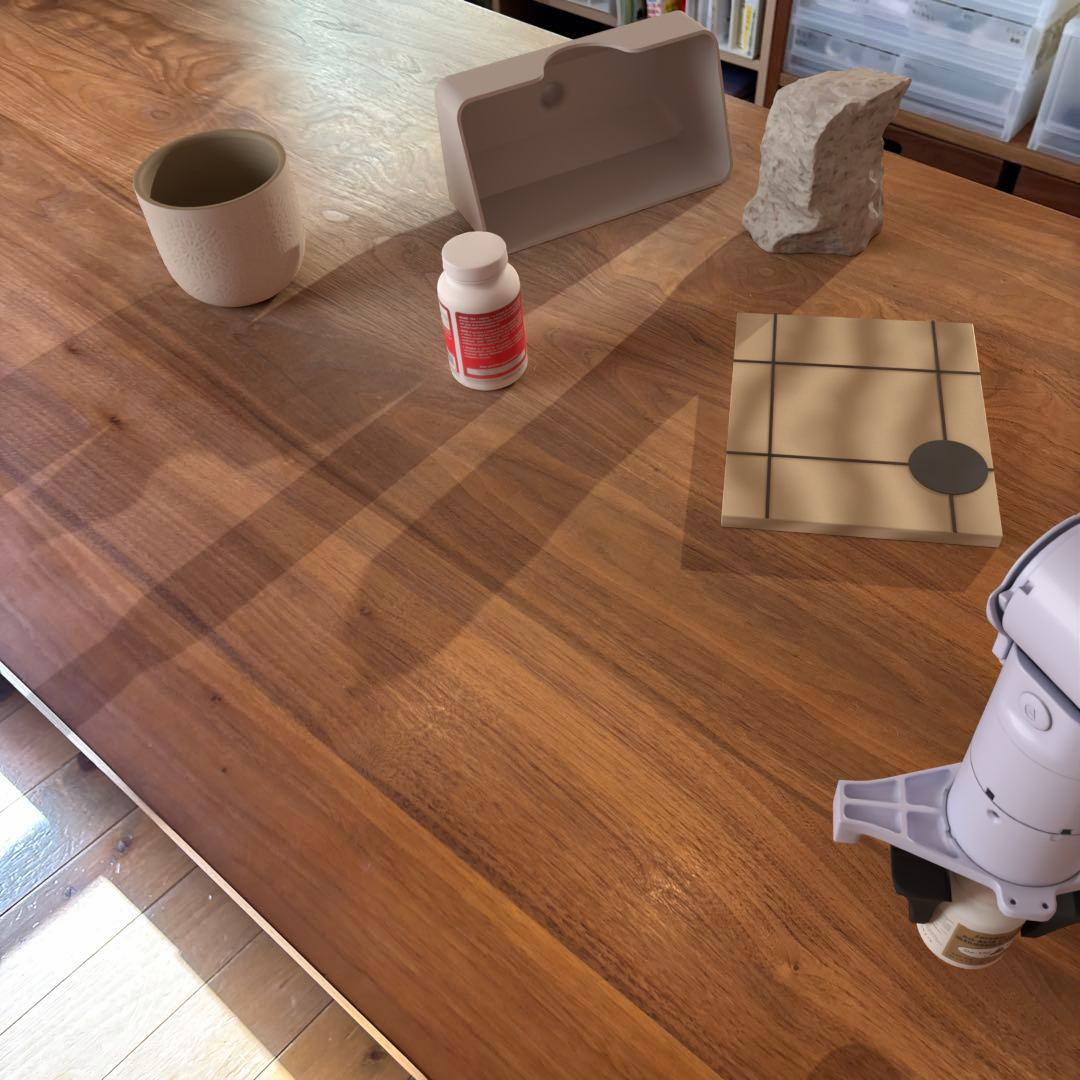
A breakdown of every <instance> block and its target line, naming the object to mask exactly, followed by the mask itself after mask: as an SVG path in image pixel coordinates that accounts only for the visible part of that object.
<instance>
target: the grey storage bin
mask: <svg viewBox="0 0 1080 1080" xmlns="http://www.w3.org/2000/svg"><path fill="white" fill-rule="evenodd" d="M725 95H726V94H725V86H724V79H723V69H722V63H721V54H720V46H719V42H718V38H717V36H716V35H715V34H714V33H713V32H712V31H711V30H709V29H708V28H706V26H703V25H702V24H701V23H699V22H698V21H697V20H695V19H693V18H692V16H690V15H688V14H687V13H685V12H684V11H682V10H673V11H672V10H671V11H669V12H666V13H662V14H658V15H655V16H652V17H648V18H645V19H641V20H638V21H635V22H630V23H628V24H624V25H621V26H617V27H614V28H610V29H606V30H603V31H599V32H596V33H593V34H590V35H585V36H582V37H578V38H575V39H571V40H567V41H564V42H561V43H557V44H554V45H551V46H547V47H543V48H540V49H537V50H533V51H529V52H526V53H523V54H520V55H519V54H518V55H516V56H513V57H509V58H505V59H502V60H501V59H500V60H498V61H495V62H491V63H487V64H485V65H481V66H477V67H474V68H470V69H467V70H463V71H460V72H456V73H453V74H450V75H446V76H444V77H443V78H442V79H441V80H439V82H438V83H437V85H436V87H435V89H434V96H433V97H434V102H435V110H436V117H437V123H438V130H439V138H440V145H441V151H442V159H443V164H444V172H445V179H446V185H447V193H448V199H449V201H450V202H451V204H452V205H453V206H454V207H455V208H456V209H457V210H458V212H459V213H460V215H461V216H463V218H464V220H465V221H466V222H467V224H468V225H469V226H470V227H471V229H472V230H473V232H475V231H482V232H489V233H493V234H495V235H498V236H499V237H501V238H502V239H503V241H504V242H505V244H506V250H507V255H511V254H513V253H516V252H519V251H522V250H526V249H528V248H531V247H534V246H538V245H541V244H543V243H546V242H549V241H553V240H556V239H559V238H562V237H564V236H565V237H566V236H568V235H571V234H573V233H578V232H579V231H580V232H581V231H583V230H585V229H588V228H591V227H594V226H597V225H600V224H604V223H607V222H610V221H613V220H615V219H618V218H621V217H624V216H627V215H631V214H633V213H636V212H637V213H638V212H640V211H643V210H646V209H648V208H649V209H650V208H653V207H655V206H657V205H662V204H664V203H667V202H669V201H673V200H675V199H679V198H681V197H684V196H689V195H690V194H694V193H697V192H699V191H703V190H706V189H709V188H711V187H715V186H717V185H721V184H723V183H725V182H726V181H727V180H728V179H729V178H730V176H731V174H732V172H733V167H734V161H733V159H734V158H733V151H732V144H731V134H730V127H729V119H728V111H727V103H726V96H725Z"/></svg>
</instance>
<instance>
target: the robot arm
mask: <svg viewBox="0 0 1080 1080" xmlns="http://www.w3.org/2000/svg"><path fill="white" fill-rule="evenodd" d="M985 611H986V618H987V621H988V622H989V623H990V624H991V626H992V627H993V628H994V629H995V630H996V631H998V632H997V636H996V639H995V640H994V641H995V642H994V644H993V647H992V649H991V652H992V653H993V654H994V656H995V657H996V658H997V659H998V662H999V663H1000V665H1002V668H1001V670H1000V673H999V675H998V677H997V680H996V682H995V684H994V687H993V689H992V691H991V694H990V696H989V698H988V700H987V703H986V706H985V708H984V710H983V712H982V715H981V717H980V719H979V722H978V724H977V726H976V728H975V732H974V733H973V736H972V739H971V741H970V743H969V746H968V748H967V750H966V753H965V755H964V757H963V760H962V761H960V762H956V763H951V764H946V765H942V766H936V767H932V768H926V769H922V770H918V771H913V772H909V773H903V774H898V775H894V776H890V777H885V778H878V779H869V780H847V779H839V780H838V782H837V786H836V789H835V793H834V797H833V801H832V838H833V842H835V843H842V844H852V845H855V844H858V843H859V841H860V838H861V836H862V835H865V836H869V837H872V838H873V839H874V838H875V839H877V840H880V841H882V842H885V843H887V844H889V847H890V848H889V849H890V850H889V851H890V873H891V874H890V875H891V881H892V885H893V888H894V890H895V893H896V895H897V896H901V897H904V898H905V899H906V900H907V903H908V904H907V906H908V919H909V922H910V923H911V924H916V923H918V924H926V923H928V922H929V921H930V918H931V916H932V914H933V911H934V909H935V908H936V907H937V906H938V905H939V904H940V903H942V902H944V901H945V902H952V893H951V881H950V870H951V871H953V872H956V873H958V874H960V875H962V876H965V877H967V878H969V879H972V880H974V881H976V882H978V883H981V884H983V885H985V886H988V887H990V888H991V889H992V890H993V891H994V892H995V893H996V896H997V904H998V907H999V909H1000V911H1001V912H1002V913H1003V914H1004V915H1005V916H1008V917H1011V918H1016V919H1024V920H1026V922H1025V923H1024V925H1023V926H1022V928H1021V929H1020V931H1019V933H1020V937H1021V938H1029V939H1037V938H1041V937H1044V936H1046V935H1048V934H1050V933H1053V932H1056V931H1059V930H1060V929H1064V928H1066V927H1070V926H1073V925H1076V924H1080V512H1078V513H1077V514H1076V515H1075V514H1073V515H1072V516H1069V517H1068V518H1066V519H1064V520H1063V521H1061V522H1059V523H1058V524H1056V525H1055V526H1053V527H1051V528H1050V529H1049V530H1048V531H1047V532H1044V533H1043V534H1042V535H1041V536H1040V537H1039V538H1038V539H1037V540H1035V541H1034V542H1033V543H1032V544H1031V545H1030V546H1029V547H1028V548H1027V549H1026V550H1024V552H1023V553H1022V554H1021V555H1020V557H1019V558H1017V560H1016V561H1015V562H1014V564H1013V565H1012V566H1011V568H1010V569H1009V570H1008V572H1007V574H1006V575H1005V577H1004V578H1003V581H1002V582H1001V584H1000V585H998V587H996V589H994V590H993V591H992V592H991V593H990V594H989V596H988V599H987V602H986V608H985Z"/></svg>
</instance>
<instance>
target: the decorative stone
mask: <svg viewBox="0 0 1080 1080" xmlns="http://www.w3.org/2000/svg"><path fill="white" fill-rule="evenodd" d="M912 82H913V77H907V76H906V75H901V74H898V73H893V72H888V71H880V70H877V69H875V68H866V67H862V66H857V67H851V68H848V69H845V70H836V71H834V70H827V71H824V72H821V73H817V74H813V75H811V76H808V77H804V78H798V80H796V81H794V82H792V83H789V84H787V85H784V86H783V87H781V88H779V89H778V90H777V91H776V93H775V96H774V97H773V102H772V105H771V106H770V108H769V111H768V115H767V119H766V122H765V129H764V133H763V136H762V140H761V143H760V145H759V149H760V156H761V160H760V166H759V170H758V174H759V177H758V185H757V189H756V192H755V194H754V196H753V197H752V198H751V199H750V200H749V201H748V202H747V203H746V204H745V205H744V207H743V214H742V220H741V225H742V227H743V228H744V229H745V230H746V231H748V233H749V234H750V235H751V238H752V241H753V242H754V243H755V244H757V246H758V247H759V248H760V249H761V250H763V251H764V252H767V253H769V254H785V255H787V254H791V255H793V254H795V255H797V254H817V255H820V254H822V255H823V254H829V255H830V254H836V255H843V256H846V257H852V256H855V255H858V254H859V253H861V252H863V251H865V250H866V248H867V246H868V245H869V242H870V240H871V239H872V238H873V237H874V236H875V235H878V234H879V233H880V232H882V230H883V227H884V217H883V213H884V208H885V200H884V199H885V198H884V189H883V176H884V175H885V166H884V164H883V162H882V159H883V157H884V155H885V154H884V153H885V152H884V145H885V141H884V139H883V135H884V132H885V130H886V128H887V126H888V125H890V123H891V122H892V121H893V120H894V119H895V118H896V116H897V114H898V112H899V110H900V108H901V103H902V100H903V97H904V96H905V94H906V93H907V91H908V89H909V88H910V86H911V84H912Z"/></svg>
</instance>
